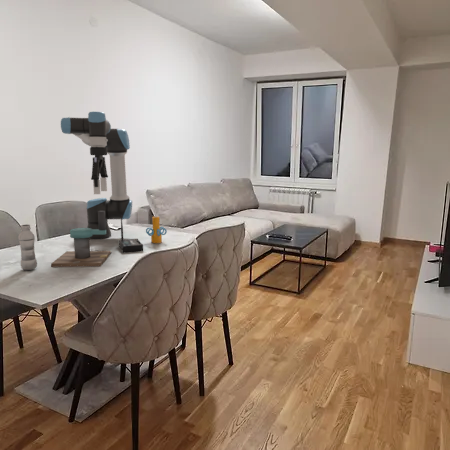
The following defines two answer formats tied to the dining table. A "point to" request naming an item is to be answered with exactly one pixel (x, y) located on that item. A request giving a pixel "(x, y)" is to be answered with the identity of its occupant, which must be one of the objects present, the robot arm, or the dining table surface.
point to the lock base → (83, 262)
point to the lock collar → (88, 231)
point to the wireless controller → (129, 243)
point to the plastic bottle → (27, 248)
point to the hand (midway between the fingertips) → (100, 192)
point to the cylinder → (156, 230)
